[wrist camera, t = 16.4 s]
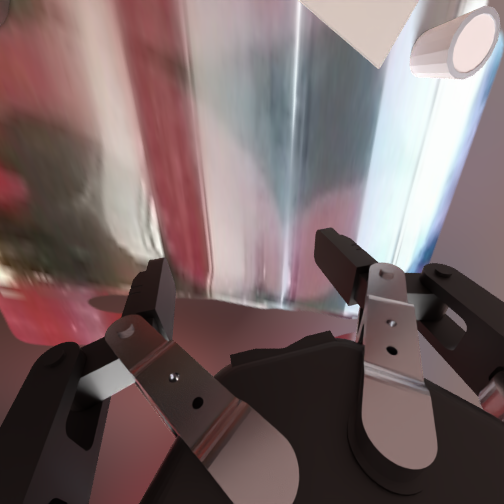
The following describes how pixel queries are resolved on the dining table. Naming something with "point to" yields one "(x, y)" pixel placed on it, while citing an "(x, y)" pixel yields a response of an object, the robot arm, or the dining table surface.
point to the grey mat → (365, 23)
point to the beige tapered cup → (456, 46)
